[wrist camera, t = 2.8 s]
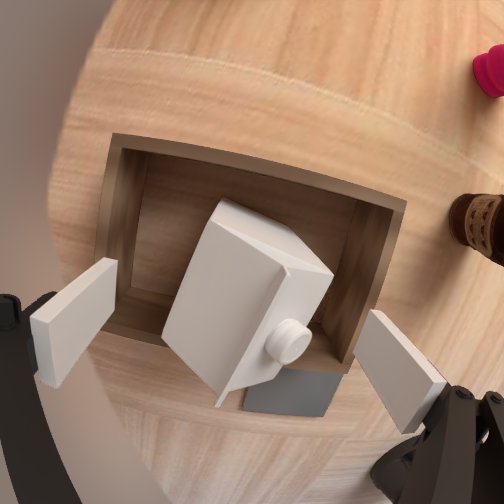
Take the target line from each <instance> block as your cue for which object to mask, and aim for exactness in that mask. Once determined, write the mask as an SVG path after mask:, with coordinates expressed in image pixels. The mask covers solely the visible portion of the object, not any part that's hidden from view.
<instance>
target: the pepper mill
mask: <svg viewBox="0 0 504 504" xmlns="http://www.w3.org/2000/svg"><path fill="white" fill-rule="evenodd" d="M473 67H474V73H475V77H476V79H477V81H478V83H479V85H480V86H481V88H482V89H483V90H484V92H486V93H487V94H488V95H489V96H491V97H495V98H496V97H501V96H504V44H500V45H496V46H493V47H492V48H491V49H490V50H489V52H488V53H484V54H481V55H478V56H477V57H476V58H475V60H474V64H473Z"/></svg>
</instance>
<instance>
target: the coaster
mask: <svg viewBox="0 0 504 504" xmlns="http://www.w3.org/2000/svg"><path fill="white" fill-rule="evenodd" d="M343 374H344V373H331V372H320V371H309V370H300V369H291V368H283V367H282V368H281V369H280V371H279V372H278V374H277V375H276V377H275V378H274V379H272V380H269V381H266V382H262V383H259V384H255V385H252V386H248V387H247V391H246V394H245V397H244V401H243V404H242V410H243V411H252V412H260V413H270V414H281V415H294V416H312V417H323V416H324V414H325V412H326V410H327V408H328V406H329V404H330V402H331V400H332V398H333V396H334V394H335V392H336V390H337V387H338V385H339V383H340V381H341V379H342V377H343Z"/></svg>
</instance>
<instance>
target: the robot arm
mask: <svg viewBox="0 0 504 504" xmlns="http://www.w3.org/2000/svg"><path fill="white" fill-rule="evenodd" d="M117 264H118V260H114V259H109V258H105V257H104V258H102V259H101V260H100V261H98V262H97V263H96V264H94V265H93V266H92V267H90V268H89V269H88V270H86V271H85V272H84V273H83V274H81V275H80V276H79V277H77V278H76V279H75V280H74V281H72V282H71V283H70V284H69V285H67V286H66V287H65V288H63V289H62V290H61V291H60V292H59V293H57V292H54V291H52V292H50V293H47V294H44V295H42V296H41V297H40V298H39V299H37V301H35V302H33V303H32V304H31V305H30V306H28V307H27V308H26V309H25V310H23V311H21V302H20V300H19V298H17V297H16V296H14V295H10V294H0V440H1V445H2V448H3V453H4V457H5V461H6V465H7V468H8V472H9V476H10V479H11V482H12V485H13V488H14V491H15V494H16V497H17V500H18V503H19V504H82V502H81V500H80V498H79V496H78V494H77V492H76V490H75V488H74V486H73V484H72V482H71V480H70V478H69V476H68V474H67V472H66V469H65V467H64V465H63V462H62V460H61V458H60V455H59V453H58V451H57V448H56V445H55V443H54V440H53V438H52V435H51V432H50V430H49V426H48V424H47V421H46V418H45V415H44V411H43V408H42V405H41V402H40V398H39V395H38V391H37V388H36V384H35V380H34V376H33V375H34V374H35V373H36V372H37V370H38V374H39V378H40V382H41V383H44V384H46V385H49V386H51V387H53V388H56V389H58V388H59V386H60V385H61V383H62V382H63V380H64V379H65V378H66V376H67V374H68V373H69V372H70V370H71V369H72V367H73V366H74V364H75V363H76V362H77V360H78V359H79V357H80V356H81V355H82V353H83V352H84V350H85V349H86V348H87V346H88V345H89V344H90V342H91V341H92V340H93V338H94V337H95V335H96V334H97V333H98V331H99V330H100V329H101V327H102V326H103V325H104V323H105V322H106V321H107V319H108V318H109V317H110V316H111V314H112V313H113V312H114V310H115V291H116V276H117ZM353 354H354V355H355V357H356V358H357V360H358V362H359V363H360V365H361V367H362V368H363V370H364V372H365V373H366V375H367V377H368V378H369V380H370V382H371V383H372V385H373V387H374V388H375V390H376V392H377V393H378V395H379V397H380V399H381V400H382V402H383V404H384V405H385V407H386V409H387V410H388V412H389V414H390V416H391V417H392V419H393V421H394V423H395V424H396V426H397V428H398V429H399V431H400V433H401V434H407V433H415V431H416V430H417V429H418V427H419V426H420V424H421V423H422V422H423V424H424V425H425V429H424V430H423V432H422V433H421V434H420V435H419V436H416V437H413V438H411V439H409V440H407V441H405V442H403V443H401V444H399V445H398V446H396V447H395V448H393V449H392V450H390V451H389V452H388V453H386V454H385V455H384V456H383V457H382V458H381V459H380V460H379V461H378V462H377V463H376V464H375V465H374V467H373V468H372V471H371V478H372V481H373V483H374V485H375V486H376V487H377V488H378V489H380V490H381V491H382V492H383V493H384V494H385V495H386V497H387V498H388V499H389V500H390V501H391V502H392V503H393V504H504V398H503V397H502V396H501V395H500V394H498V393H497V392H493V391H488V392H486V394H485V395H484V397H483V399H482V400H477V399H475V398H474V395H473V394H472V393H471V392H470V391H469V390H468V389H466V388H464V387H461V386H451V385H450V384H449V383H448V382H447V381H446V379H445V378H444V377H443V376H442V375H441V374H440V373H439V372H438V370H437V369H436V368H434V366H433V365H432V364H431V363H430V362H429V360H427V359H426V358H425V357H424V356H423V355H422V353H421V352H420V351H419V350H418V349H417V348H416V347H415V346H414V345H413V344H412V343H411V342H410V340H409V339H408V338H407V337H406V336H405V335H404V334H403V333H402V332H401V331H400V330H399V329H398V328H397V327H396V326H395V324H394V323H393V322H392V321H391V320H390V319H389V318H388V317H387V316H386V315H385V314H384V313H383V312H382V311H379V310H372V309H370V310H369V313H368V316H367V318H366V321H365V323H364V326H363V328H362V331H361V333H360V336H359V338H358V341H357V343H356V346H355V348H354V350H353ZM488 431H489V435H488V438H487V439H486V441H485V442H484V443H483V441H482V439H483V438H484V436H485V435H486V434H487V432H488Z"/></svg>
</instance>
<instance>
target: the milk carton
mask: <svg viewBox="0 0 504 504" xmlns="http://www.w3.org/2000/svg"><path fill="white" fill-rule="evenodd" d="M333 277H334V274H333V273H332V272H331V271H330V270H329V269H328V268H327V267H326V266H325V265H324V263H323V262H322V261H321V260H320V259H319V258H318V257H317V256H316V255H315V254H314V253H313V252H312V251H311V250H310V249H309V248H308V247H307V246H306V244H305V243H304V242H303V241H302V240H301V239H300V238H299V237H298V236H297V235H296V234H295V233H294V232H293V231H292V230H291V229H290V228H289V227H288V226H286V225H284V224H282V223H280V222H277V221H275V220H273V219H271V218H269V217H267V216H264V215H262V214H260V213H258V212H256V211H253V210H251V209H249V208H247V207H245V206H242V205H240V204H238V203H236V202H233V201H231V200H229V199H227V198H224V197H222V198H221V200H220V201H219V203H218V205H217V206H216V208H215V210H214V212H213V213H212V215H211V217H210V219H209V220H208V222H207V224H206V226H205V228H204V230H203V233H202V235H201V237H200V240H199V242H198V244H197V247H196V249H195V251H194V254H193V256H192V259H191V261H190V263H189V266H188V268H187V271H186V273H185V276H184V278H183V281H182V283H181V285H180V288H179V290H178V293H177V295H176V298H175V301H174V303H173V306H172V308H171V311H170V313H169V316H168V318H167V321H166V324H165V326H164V329H163V332H162V336H161V338H162V339H163V340H164V341H165V342H166V343H167V344H168V346H169V347H170V348H171V349H172V350H173V351H174V352H175V353H176V354H177V355H178V356H179V357H180V358H181V359H182V360H183V361H184V362H185V363H186V364H187V365H188V366H189V367H190V368H191V369H192V370H193V371H194V372H195V373H196V374H197V375H198V376H199V377H200V378H201V379H202V380H203V381H204V382H205V383H206V384H207V385H208V386H209V387H210V388H211V389H212V390H213V391H214V392H215V407H217V408H219V407H220V405H221V404H222V402H223V400H224V399H225V397H226V395H227V393H228V392H229V391H233V390H237V389H241V388H244V387H248V386H252V385H255V384H259V383H262V382H266V381H269V380H272V379H274V378H275V377H276V375H277V374H278V372H279V371H280V369H281V368H282V366H283V365H287V364H290V363H292V362H293V361H295V360H296V359H297V358H298V357H300V356H301V354H302V353H303V352H304V351H305V349H306V348H307V346H308V345H309V343H310V341H311V338H312V332H311V331H310V330H309V329H308V328H307V327H306V326H307V325H308V323H309V321H310V319H311V318H312V316H313V314H314V313H315V311H316V309H317V307H318V306H319V304H320V302H321V300H322V298H323V297H324V295H325V293H326V291H327V289H328V287H329V285H330V283H331V281H332V279H333Z"/></svg>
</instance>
